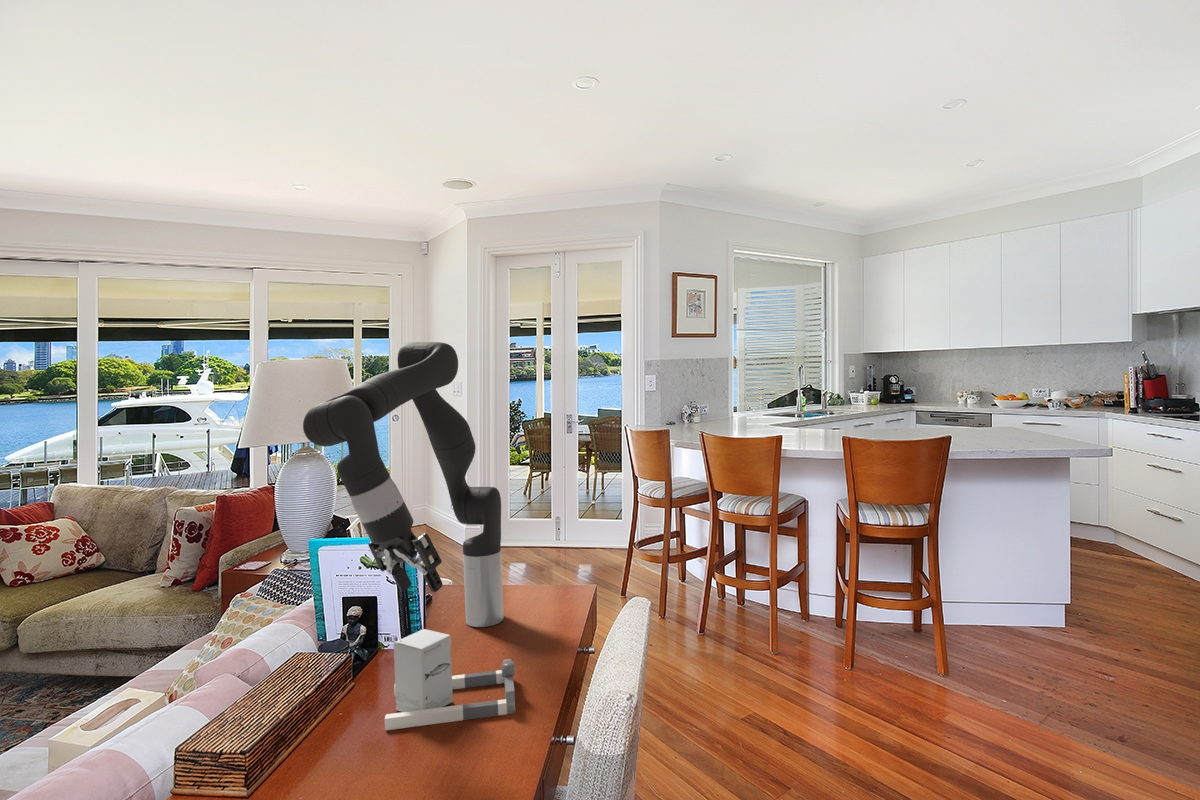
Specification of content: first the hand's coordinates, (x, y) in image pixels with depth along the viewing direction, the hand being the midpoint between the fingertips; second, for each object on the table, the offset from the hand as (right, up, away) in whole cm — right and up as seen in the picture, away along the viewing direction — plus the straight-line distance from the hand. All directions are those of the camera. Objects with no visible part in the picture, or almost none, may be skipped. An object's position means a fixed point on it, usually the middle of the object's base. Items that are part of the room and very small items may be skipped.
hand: (421, 588), depth 110 cm
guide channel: (+4, -23, +6) cm, 24 cm away
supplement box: (-1, -23, +5) cm, 24 cm away
